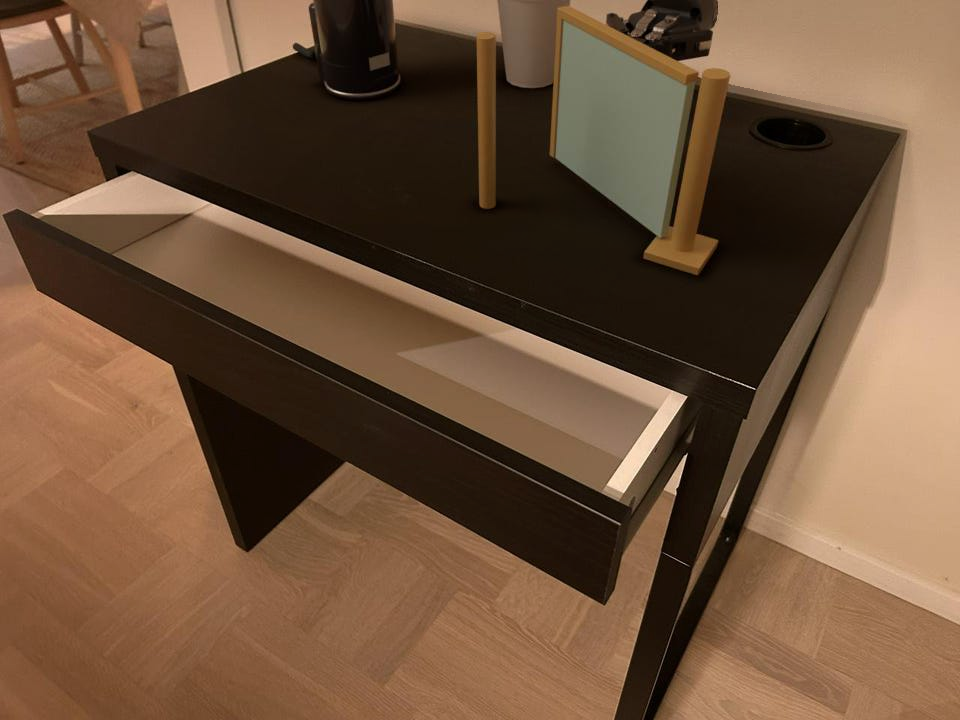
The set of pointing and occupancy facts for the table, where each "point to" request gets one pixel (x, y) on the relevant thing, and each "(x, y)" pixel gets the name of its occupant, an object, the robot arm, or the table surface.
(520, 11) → the foam cup
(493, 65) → the wooden dowel rod
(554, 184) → the table surface
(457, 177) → the table surface
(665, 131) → the glass door
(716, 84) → the hinge post
